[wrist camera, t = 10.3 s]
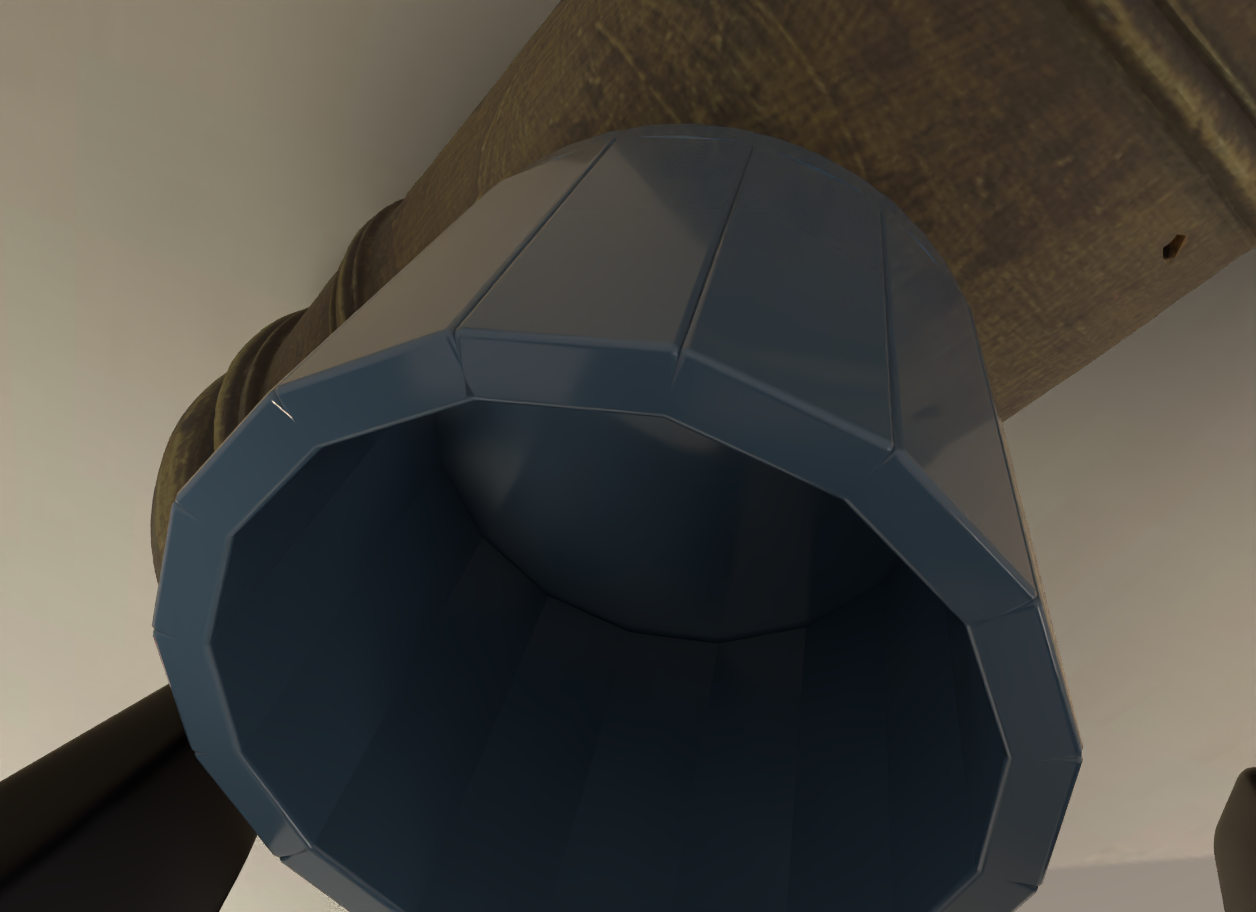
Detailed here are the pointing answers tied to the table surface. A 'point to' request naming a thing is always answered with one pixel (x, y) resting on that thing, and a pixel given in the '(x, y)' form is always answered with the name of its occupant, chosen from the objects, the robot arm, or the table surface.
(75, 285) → the table surface
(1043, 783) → the enamel cup
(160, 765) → the robot arm
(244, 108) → the table surface
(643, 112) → the container
